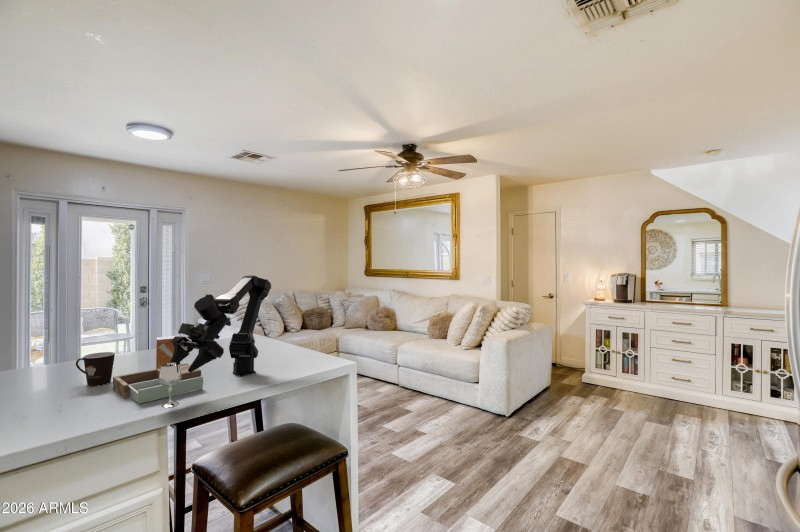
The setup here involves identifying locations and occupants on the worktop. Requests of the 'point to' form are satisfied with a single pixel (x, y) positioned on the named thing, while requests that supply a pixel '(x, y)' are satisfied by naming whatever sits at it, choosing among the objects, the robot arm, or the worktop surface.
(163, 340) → the small box
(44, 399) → the worktop surface
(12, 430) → the worktop surface
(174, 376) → the wineglass
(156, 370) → the divided wooden organizer
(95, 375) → the coffee mug
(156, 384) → the tray
